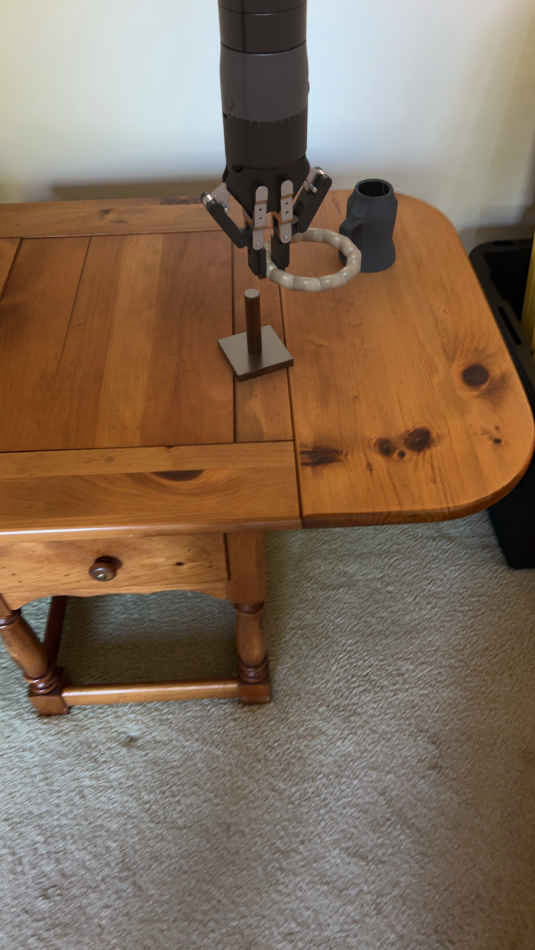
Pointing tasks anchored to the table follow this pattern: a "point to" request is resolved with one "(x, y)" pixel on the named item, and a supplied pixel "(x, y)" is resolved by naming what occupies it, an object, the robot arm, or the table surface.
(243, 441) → the table surface
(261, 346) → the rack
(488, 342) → the table surface
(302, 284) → the ring
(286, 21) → the robot arm
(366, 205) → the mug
